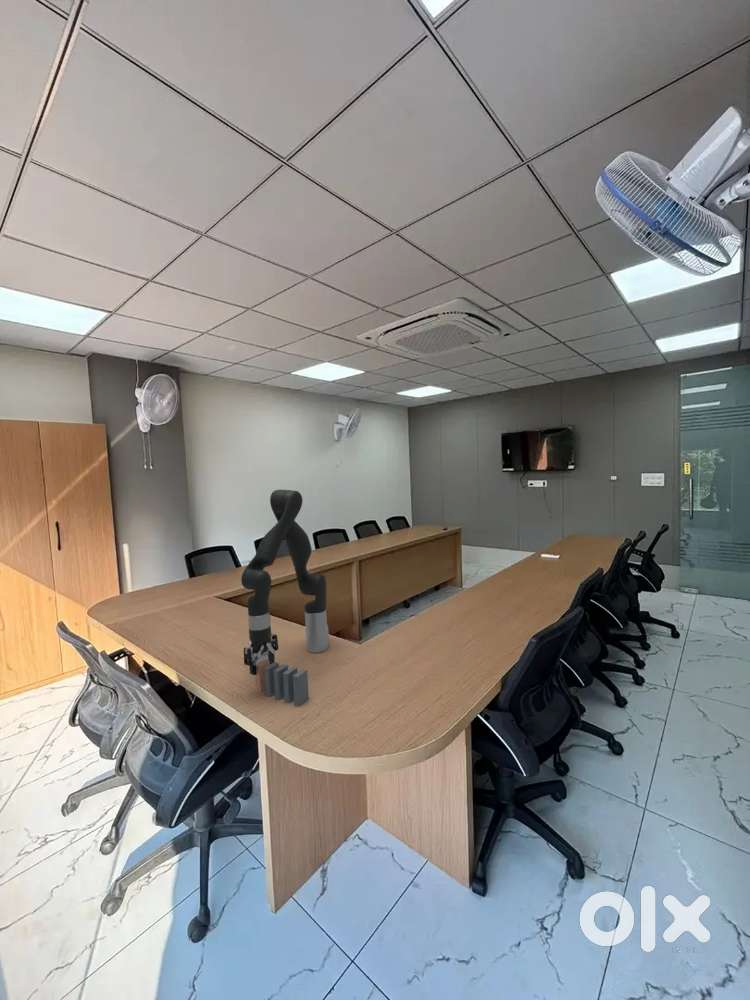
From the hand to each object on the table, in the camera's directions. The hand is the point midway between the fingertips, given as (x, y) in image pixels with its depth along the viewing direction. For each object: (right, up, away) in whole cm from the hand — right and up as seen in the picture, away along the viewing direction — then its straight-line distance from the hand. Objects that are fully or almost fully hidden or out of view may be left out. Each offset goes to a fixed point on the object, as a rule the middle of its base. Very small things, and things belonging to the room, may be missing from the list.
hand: (262, 669), depth 146 cm
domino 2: (+4, -8, -2) cm, 9 cm away
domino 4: (+12, -8, -6) cm, 15 cm away
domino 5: (+15, -8, -8) cm, 19 cm away
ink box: (-5, -7, +17) cm, 19 cm away
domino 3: (+8, -8, -4) cm, 12 cm away
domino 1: (0, -8, 0) cm, 8 cm away
